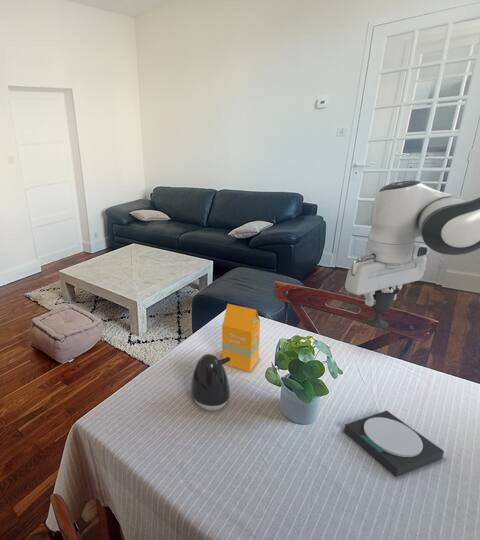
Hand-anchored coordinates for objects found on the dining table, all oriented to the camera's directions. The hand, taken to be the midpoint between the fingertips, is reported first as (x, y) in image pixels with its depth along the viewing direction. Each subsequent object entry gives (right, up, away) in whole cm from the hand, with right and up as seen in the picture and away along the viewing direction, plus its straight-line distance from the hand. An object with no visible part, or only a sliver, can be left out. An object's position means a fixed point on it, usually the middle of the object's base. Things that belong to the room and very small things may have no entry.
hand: (380, 302), depth 86 cm
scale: (-7, -31, -12) cm, 34 cm away
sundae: (+1, -6, +2) cm, 6 cm away
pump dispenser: (-42, -28, +6) cm, 51 cm away
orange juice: (-28, -21, +21) cm, 41 cm away
